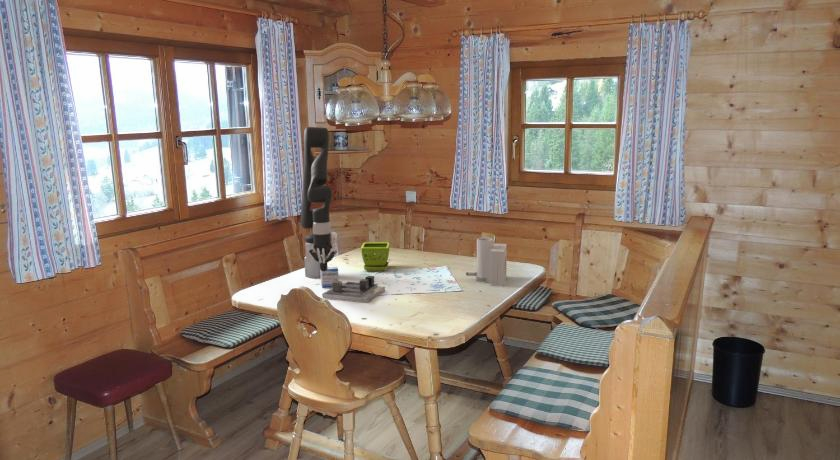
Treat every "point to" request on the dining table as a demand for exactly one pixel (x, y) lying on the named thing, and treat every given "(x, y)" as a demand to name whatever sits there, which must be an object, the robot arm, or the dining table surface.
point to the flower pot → (375, 255)
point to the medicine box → (329, 277)
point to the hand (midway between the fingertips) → (323, 271)
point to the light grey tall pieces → (490, 262)
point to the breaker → (337, 286)
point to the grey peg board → (357, 291)
